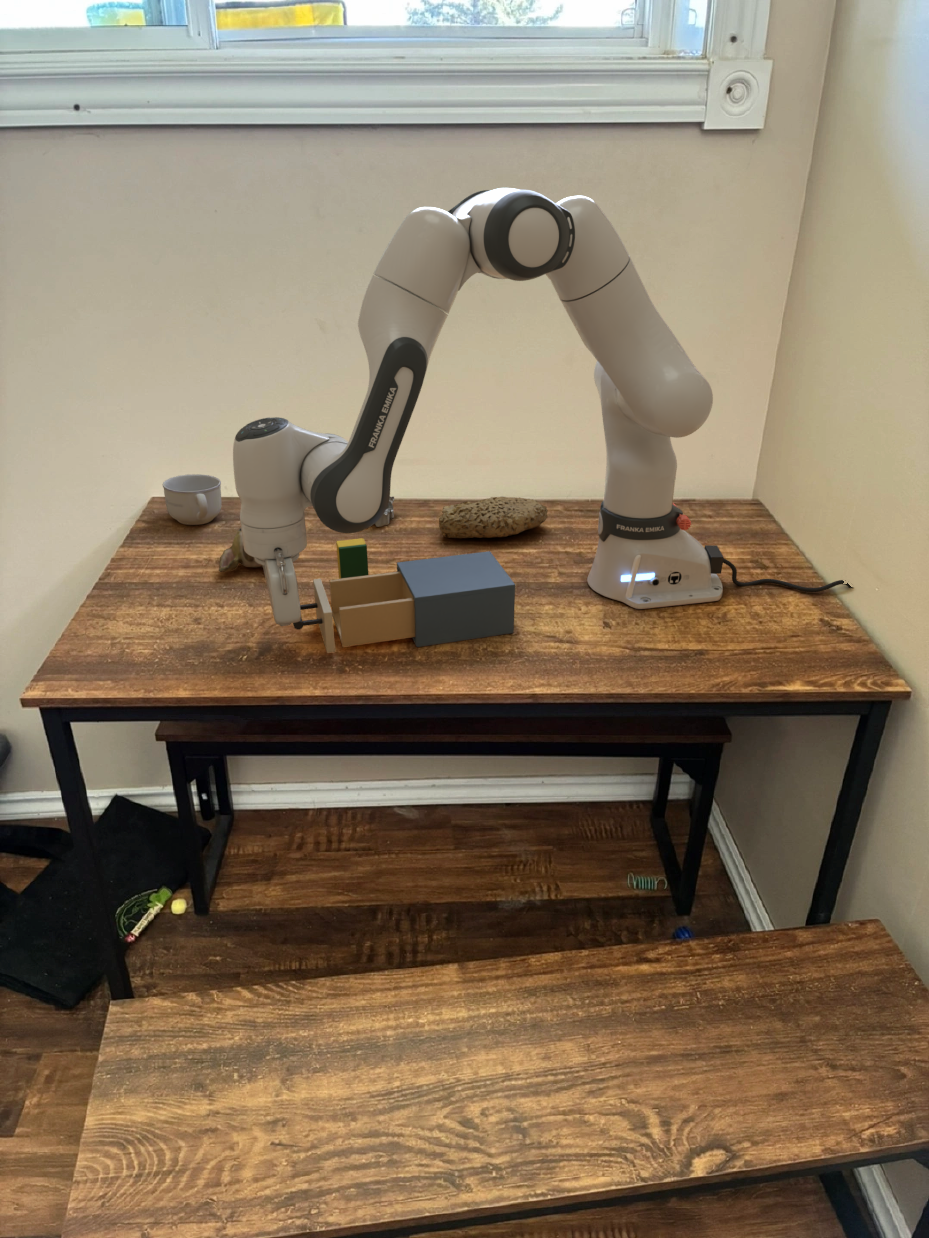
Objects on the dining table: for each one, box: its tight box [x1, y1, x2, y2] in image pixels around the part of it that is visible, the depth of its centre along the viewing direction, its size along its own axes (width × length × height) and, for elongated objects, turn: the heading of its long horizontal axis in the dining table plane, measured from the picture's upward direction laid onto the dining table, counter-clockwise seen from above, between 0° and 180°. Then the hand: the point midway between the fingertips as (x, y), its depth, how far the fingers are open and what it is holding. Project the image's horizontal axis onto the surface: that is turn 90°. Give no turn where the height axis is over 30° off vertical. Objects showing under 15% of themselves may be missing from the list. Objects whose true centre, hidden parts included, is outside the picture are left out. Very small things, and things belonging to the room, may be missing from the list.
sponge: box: [438, 496, 549, 539], centre depth 167 cm, size 13×8×20 cm
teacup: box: [162, 473, 222, 526], centre depth 171 cm, size 14×11×8 cm
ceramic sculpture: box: [218, 527, 263, 573], centre depth 155 cm, size 11×9×15 cm
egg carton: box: [374, 496, 395, 528], centre depth 174 cm, size 11×8×4 cm
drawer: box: [292, 571, 415, 654], centre depth 133 cm, size 19×11×7 cm, turn 106°
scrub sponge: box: [335, 537, 369, 579], centre depth 145 cm, size 4×3×9 cm
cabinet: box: [396, 550, 516, 648], centre depth 137 cm, size 15×12×8 cm
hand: (284, 621), depth 130 cm, fingers closed
